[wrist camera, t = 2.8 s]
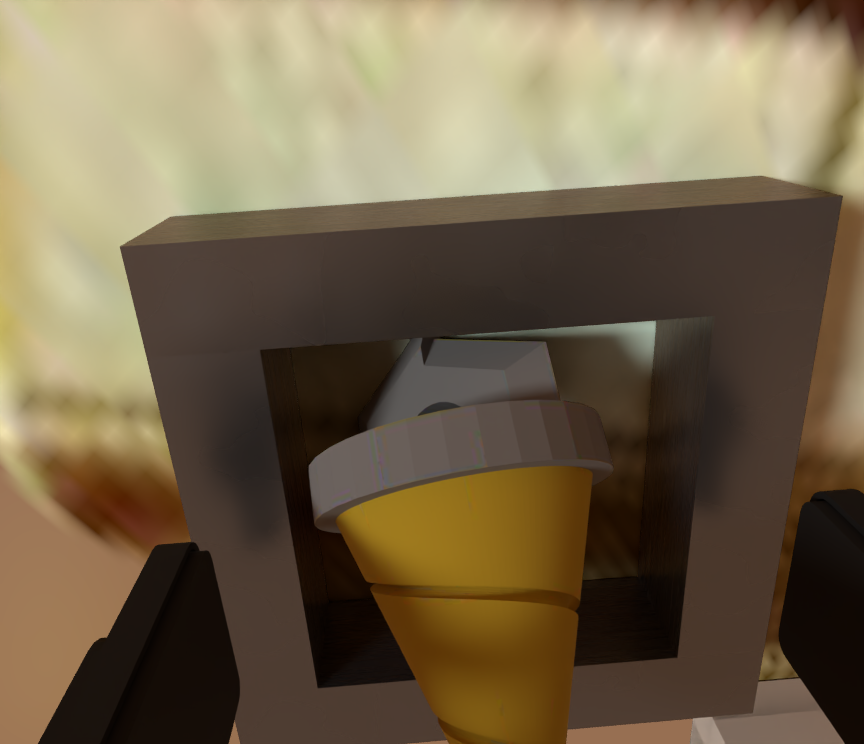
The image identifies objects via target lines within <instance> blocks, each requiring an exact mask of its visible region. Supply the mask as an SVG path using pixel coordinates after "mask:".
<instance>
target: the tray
mask: <svg viewBox="0 0 864 744" xmlns="http://www.w3.org/2000/svg"><path fill="white" fill-rule="evenodd" d="M690 744H845V743H844V742H843V740H842V739H841V737H840V736H839V735H838V733H837V732H836V730H835V729H834V727H833V726H832V724H831V723H830V721H829V720H828V718H827V717H826V716H825V714H824V713H823V711H822V710H821V708H820V707H819V705H818V704H817V702H816V701H815V699H814V698H813V696H812V695H811V694H810V692H809V691H808V689H807V688H806V686H805V685H804V683H803V682H802V680H801V679H800V678H796V679H785V680H773V681H762V682H758V686H757V692H756V698H755V704H754V709H753V713H751V714H739V715H728V716H716V717H705V718H693V723H692V732H691V739H690Z"/></svg>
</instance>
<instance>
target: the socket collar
mask: <svg viewBox="0 0 864 744" xmlns="http://www.w3.org/2000/svg"><path fill="white" fill-rule="evenodd" d="M842 197H843V196H841V195H837V194H833V193H829V192H825V191H821V190H817V189H813V188H809V187H805V186H801V185H797V184H793V183H789V182H785V181H781V180H777V179H773V178H769V177H765V176H751V177H737V178H723V179H708V180H694V181H679V182H665V183H650V184H636V185H621V186H607V187H593V188H578V189H564V190H549V191H535V192H520V193H506V194H492V195H477V196H463V197H448V198H434V199H419V200H405V201H390V202H376V203H362V204H347V205H333V206H318V207H304V208H289V209H275V210H261V211H246V212H232V213H217V214H203V215H188V216H174V217H169V218H168V219H166V220H164V221H163V222H161V223H159V224H157V225H156V226H154V227H152V228H151V229H149V230H147V231H146V232H144V233H142V234H140V235H139V236H137V237H135V238H134V239H132V240H130V241H129V242H127V243H125V244H124V245H122V246H120V249H121V253H122V258H123V262H124V266H125V270H126V274H127V278H128V282H129V286H130V291H131V295H132V299H133V303H134V307H135V311H136V315H137V319H138V324H139V328H140V332H141V336H142V340H143V344H144V348H145V352H146V356H147V361H148V365H149V369H150V373H151V377H152V381H153V385H154V389H155V394H156V398H157V402H158V406H159V410H160V414H161V418H162V422H163V427H164V431H165V435H166V439H167V443H168V447H169V451H170V455H171V460H172V464H173V468H174V472H175V476H176V480H177V484H178V488H179V493H180V497H181V501H182V505H183V509H184V513H185V517H186V521H187V525H188V530H189V534H190V538H191V542H194V543H196V544H197V546H198V547H199V550H200V551H205V550H207V551H209V552H210V554H211V557H212V561H213V565H214V569H215V574H216V578H217V582H218V587H219V591H220V595H221V600H222V604H223V608H224V613H225V617H226V621H227V626H228V630H229V634H230V639H231V643H232V647H233V652H234V656H235V660H236V665H237V669H238V673H239V678H240V698H239V704H238V708H237V712H236V716H235V723H236V727H237V731H238V735H239V740H240V744H407V743H419V742H430V741H441V740H447V739H446V737H445V735H444V733H443V731H442V729H441V727H440V725H439V723H438V717H437V716H436V715H435V714H434V713H433V711H432V709H431V708H430V706H429V704H428V702H427V700H426V698H425V696H424V694H423V692H422V690H421V688H420V686H419V684H418V682H417V680H416V678H415V676H414V674H413V672H412V670H411V668H410V667H409V665H408V663H407V661H406V659H405V657H404V655H403V653H402V651H401V649H400V647H399V645H398V643H397V641H396V639H395V637H394V635H393V633H392V631H391V629H390V627H389V626H388V624H387V622H386V620H385V618H384V616H383V614H382V612H381V610H380V608H379V606H378V604H377V602H376V600H375V598H374V599H362V600H350V601H338V602H329V601H328V594H327V587H326V581H325V574H324V568H323V561H322V555H321V548H320V541H319V535H318V528H317V527H316V526H315V524H314V515H313V506H312V498H311V489H310V480H309V469H308V463H307V456H306V450H305V443H304V436H303V430H302V423H301V417H300V410H299V404H298V397H297V391H296V384H295V377H294V371H293V364H292V358H291V351H290V347H303V346H317V345H330V344H344V343H357V342H371V341H384V340H398V339H412V338H425V337H439V336H452V335H466V334H479V333H493V332H506V331H520V330H533V329H547V328H560V327H574V326H588V325H601V324H615V323H628V322H642V321H655V320H656V333H655V347H654V360H653V374H652V388H651V401H650V415H649V429H648V442H647V456H646V469H645V483H644V497H643V510H642V524H641V538H640V551H639V565H638V577H629V578H617V579H605V580H592V581H582V588H581V598H580V605H579V607H578V608H577V609H576V610H575V611H574V612H576V613H577V614H578V617H579V618H578V628H577V638H576V648H575V658H574V668H573V678H572V688H571V698H570V708H569V718H568V728H567V729H579V728H590V727H601V726H613V725H623V724H636V723H647V722H659V721H670V720H682V719H693V718H705V717H716V716H728V715H739V714H751V713H753V709H754V704H755V698H756V692H757V686H758V681H759V675H760V669H761V663H762V658H763V652H764V646H765V640H766V635H767V629H768V623H769V617H770V612H771V606H772V600H773V594H774V589H775V583H776V577H777V571H778V566H779V560H780V554H781V548H782V543H783V537H784V531H785V525H786V520H787V514H788V508H789V502H790V497H791V491H792V485H793V479H794V473H795V468H796V462H797V456H798V450H799V445H800V439H801V433H802V427H803V422H804V416H805V410H806V404H807V399H808V393H809V387H810V381H811V376H812V370H813V364H814V358H815V353H816V347H817V341H818V335H819V330H820V324H821V318H822V312H823V307H824V301H825V295H826V289H827V284H828V278H829V272H830V266H831V261H832V255H833V249H834V243H835V237H836V232H837V226H838V220H839V214H840V209H841V203H842Z"/></svg>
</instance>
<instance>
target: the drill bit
mask: <svg viewBox="0 0 864 744" xmlns="http://www.w3.org/2000/svg"><path fill="white" fill-rule="evenodd" d="M358 422H359V429H360V434H358V435H355V436H352V437H350V438H347V439H345V440H343V441H341V442H339V443H337V444H335V445H333V446H331V447H329V448H328V449H326V450H325V451H324V452H322V453H321V454H319V455H318V456H317V457H315V459H314V460H313V461H312V462H311V464H310V465H309V480H310V489H311V498H312V506H313V515H314V524H315V526H316V527H317V528H318V529H320V530H323V531H327V532H333V533H341V534H342V536H343V538H344V540H345V542H346V543H347V545H348V547H349V549H350V551H351V553H352V555H353V557H354V559H355V561H356V563H357V565H358V567H359V569H360V571H361V573H362V575H363V577H364V579H365V580H366V581H367V582H370V583H375V584H373V585H372V586H371V587H370V590H371V592H372V594H373V596H374V598H375V600H376V602H377V604H378V606H379V608H380V610H381V612H382V614H383V616H384V618H385V620H386V622H387V624H388V626H389V627H390V629H391V631H392V633H393V635H394V637H395V639H396V641H397V643H398V645H399V647H400V649H401V651H402V653H403V655H404V657H405V659H406V661H407V663H408V665H409V667H410V668H411V670H412V672H413V674H414V676H415V678H416V680H417V682H418V684H419V686H420V688H421V690H422V692H423V694H424V696H425V698H426V700H427V702H428V704H429V706H430V708H431V709H432V711H433V713H434V714H435V715H436V716H437V717H438V723H439V725H440V727H441V729H442V731H443V733H444V735H445V737H446V739H447V741H448V742H449V744H566V738H567V728H568V718H569V708H570V698H571V688H572V678H573V668H574V658H575V648H576V638H577V628H578V618H579V617H578V614H577V613H576V612H574V611H575V610H576V609H577V608H578V607H579V605H580V598H581V588H582V578H583V567H584V557H585V547H586V537H587V527H588V517H589V507H590V497H591V487H592V486H594V485H596V484H597V483H599V482H601V481H603V480H604V479H606V478H607V477H608V476H609V475H611V474H612V473H613V468H614V467H613V464H612V460H611V456H610V452H609V449H608V445H607V441H606V438H605V434H604V430H603V427H602V423H601V419H600V416H599V414H598V413H597V412H596V411H595V410H594V409H593V408H591V407H588V406H586V405H583V404H579V403H573V402H567V401H561V400H560V396H559V392H558V388H557V384H556V380H555V376H554V372H553V368H552V364H551V360H550V356H549V352H548V349H547V345H546V342H537V341H495V340H453V339H441V338H440V336H439V337H425V338H412V339H411V340H410V342H409V343H408V345H407V346H406V348H405V349H404V351H403V352H402V354H401V355H400V357H399V358H398V359H397V361H396V362H395V364H394V365H393V367H392V368H391V370H390V371H389V373H388V374H387V376H386V377H385V378H384V380H383V381H382V383H381V384H380V386H379V387H378V389H377V390H376V392H375V393H374V395H373V396H372V397H371V399H370V400H369V402H368V403H367V405H366V406H365V408H364V409H363V411H362V412H361V414H360V415H359V416H358Z"/></svg>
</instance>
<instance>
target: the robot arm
mask: <svg viewBox="0 0 864 744" xmlns="http://www.w3.org/2000/svg"><path fill="white" fill-rule="evenodd" d="M779 641H780V645H781V648H782V651H783V653H784V655H785V657H786V658H787V660H788V661H789V663H790V664H791V666H792V667H793V669H794V670H795V672H796V673H797V675H798V676H799V677H800V679H801V680H802V682H803V683H804V685H805V686H806V688H807V689H808V691H809V692H810V694H811V695H812V696H813V698H814V699H815V701H816V702H817V704H818V705H819V707H820V708H821V710H822V711H823V713H824V714H825V716H826V717H827V718H828V720H829V721H830V723H831V724H832V726H833V727H834V729H835V730H836V732H837V733H838V735H839V736H840V737H841V739H842V740H843V742H844V743H845V744H864V494H863V493H861V492H860V491H858V490H855V489H846V490H833V491H821V492H817V493H815V494H814V495H813V496H812V497H811V500H810V502H806V503H804V505H803V506H802V508H801V512H800V518H799V523H798V529H797V534H796V539H795V545H794V550H793V556H792V561H791V567H790V572H789V578H788V583H787V589H786V594H785V600H784V605H783V611H782V616H781V622H780V627H779ZM239 698H240V678H239V673H238V669H237V665H236V660H235V656H234V652H233V647H232V643H231V639H230V634H229V630H228V626H227V621H226V617H225V613H224V608H223V604H222V600H221V595H220V591H219V587H218V582H217V578H216V574H215V569H214V565H213V561H212V557H211V554H210V552H209V551H207V550H205V551H200V550H199V547H198V546H197V544H196V543H194V542H186V543H174V544H162V545H157V546H155V547H154V549H153V550H152V552H151V554H150V556H149V558H148V560H147V562H146V564H145V565H144V567H143V569H142V571H141V573H140V575H139V577H138V579H137V581H136V583H135V585H134V587H133V589H132V590H131V592H130V594H129V596H128V598H127V600H126V602H125V604H124V606H123V608H122V610H121V612H120V614H119V615H118V617H117V619H116V621H115V623H114V625H113V627H112V629H111V631H110V633H109V635H108V637H107V638H100V639H99V640H97V641H96V642H94V644H93V645H92V646H91V648H90V649H89V650H88V652H87V654H86V656H85V658H84V660H83V661H82V663H81V665H80V667H79V669H78V671H77V673H76V674H75V676H74V678H73V680H72V682H71V683H70V685H69V687H68V689H67V691H66V693H65V695H64V696H63V698H62V700H61V702H60V704H59V706H58V708H57V709H56V711H55V713H54V715H53V717H52V719H51V720H50V722H49V724H48V726H47V728H46V730H45V732H44V734H43V735H42V737H41V739H40V741H39V743H38V744H228V743H229V740H230V736H231V732H232V728H233V723H234V720H235V716H236V712H237V708H238V704H239Z"/></svg>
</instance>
